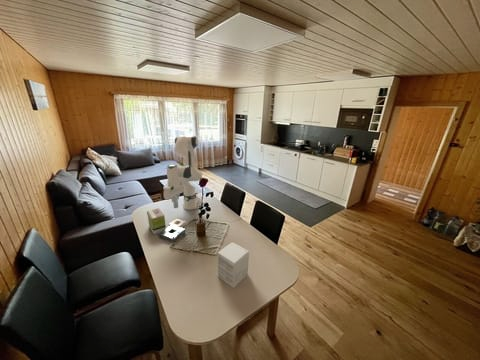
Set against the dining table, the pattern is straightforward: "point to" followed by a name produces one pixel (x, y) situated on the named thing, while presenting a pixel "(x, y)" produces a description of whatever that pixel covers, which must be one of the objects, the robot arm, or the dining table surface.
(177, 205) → the plug peg
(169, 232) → the port block
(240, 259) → the supplement box
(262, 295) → the dining table surface
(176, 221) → the holster
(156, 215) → the tea box
